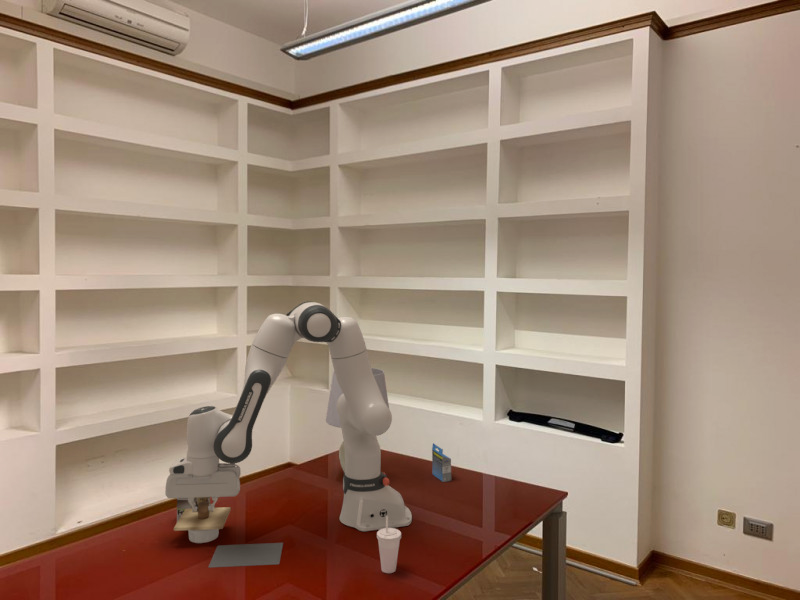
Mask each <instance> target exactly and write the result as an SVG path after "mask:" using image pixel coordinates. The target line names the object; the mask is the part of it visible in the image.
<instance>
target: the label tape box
mask: <svg viewBox="0 0 800 600" xmlns="http://www.w3.org/2000/svg"><path fill="white" fill-rule="evenodd" d="M431 452H432V456H431V458H432V459H431V460H432V463H431V467H432V471H431V472H432V475H433V476H434V477H435V478H437V479H438V480H439V481H441V482H442V483H445V482H447V483H448V482H451V481H452V459H451V457H449V456H447V455H446V454H444V453H443V452H444V449H443V448H441V447H439V446H438V445H437V444H435V443H434V442H433V443H432V447H431Z"/></svg>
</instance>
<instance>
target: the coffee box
mask: <svg viewBox="0 0 800 600" xmlns="http://www.w3.org/2000/svg"><path fill="white" fill-rule="evenodd" d="M203 501H207V502H209V504H211V497H198V498H194V502H195V503H196V504H198V503H199V502H203ZM190 508H192V506H191V505H190V503H189V502H188V498H176V523H177V522H178V520H179V519H180V517H181V515H182V514H183V512H184V511H185V509H190Z"/></svg>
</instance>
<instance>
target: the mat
mask: <svg viewBox="0 0 800 600" xmlns="http://www.w3.org/2000/svg"><path fill="white" fill-rule="evenodd" d="M283 546H284V542H269V543H268V542H267V543H266V542H265V543H246V544H245V543H241V544H225V545H224V544H223V545H221V544H220V545H219V544H218V545H217V546H216V548H215V551H214V552H213V555H212V557H211V560H210V563H209V564H208V568H229V567H230V568H231V567H251V566H269V565H270V566H272V565H273V566H274V565H280V562H281V558H282V557H281V556H282V552H283V551H282V550H283Z"/></svg>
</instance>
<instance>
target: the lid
mask: <svg viewBox="0 0 800 600" xmlns="http://www.w3.org/2000/svg"><path fill="white" fill-rule="evenodd" d="M208 506H209V502H207V501H203V502H199V503H198V512H192V508H190V509H185V511H184V512H183V514H182V515H181V517H180V519H179V520H178V522H177V521H176V524H174V527H173V531H174V532H176V531H177V532H178V531H179V532H180V531H188V530H208V529H219V530H223V528H224V526H225V524H226V522H227V519H228V517H229V514H230V512H231V510H232V509H231V508H232V507H230V506H227V507H222V506H221V507H220V506H219V507H215V509H214V512H208Z"/></svg>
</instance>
